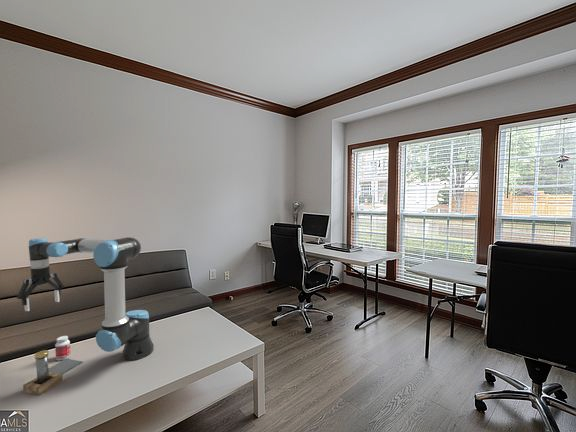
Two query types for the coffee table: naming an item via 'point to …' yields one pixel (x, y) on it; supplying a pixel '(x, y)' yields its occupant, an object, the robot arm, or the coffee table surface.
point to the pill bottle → (62, 348)
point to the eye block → (39, 389)
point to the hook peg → (42, 366)
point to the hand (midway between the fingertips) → (42, 306)
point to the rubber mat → (64, 366)
